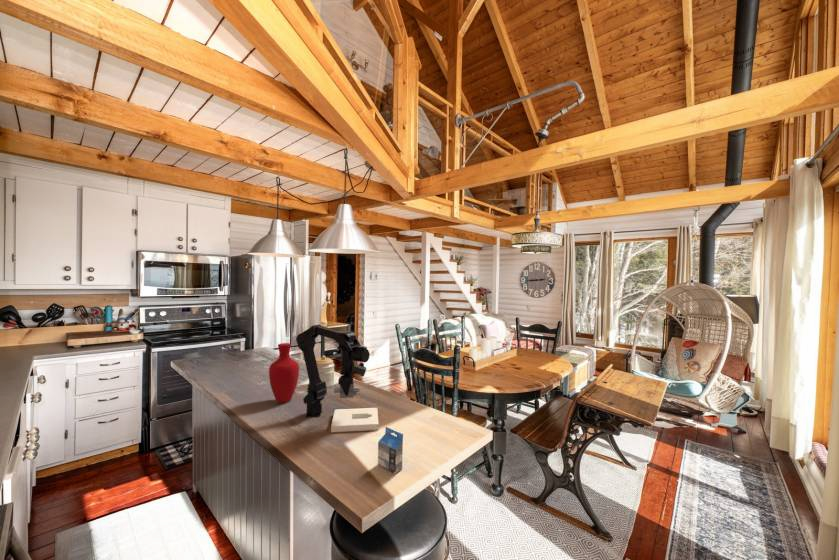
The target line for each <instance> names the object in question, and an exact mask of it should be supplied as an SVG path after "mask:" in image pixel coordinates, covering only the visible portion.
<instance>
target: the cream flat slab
mask: <svg viewBox="0 0 839 560" xmlns="http://www.w3.org/2000/svg"><path fill="white" fill-rule="evenodd" d="M378 413H379V412H378V407H367V408H365V407H364V408H362V407H361V408H340V409H338V408H337V409H334V413H333V417H332V421H331V425H330V426H331V427H330V433H342V432H346V433H347V432H360V431H363V432H364V431H379V414H378Z"/></svg>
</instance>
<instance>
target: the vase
mask: <svg viewBox="0 0 839 560" xmlns="http://www.w3.org/2000/svg"><path fill="white" fill-rule="evenodd" d="M291 346H292V343H289V342H284V343H283V342H281V343H278V344H277V347H278V354H279V356H278V358H277V359H276V360H275V361H273V362H272V363H271V364H270V366H269V370H268V377H269V383H270V388H271V392H272V393H273V396H274V399H275V400H276V402H277V403H279V404H286V403H289V402H290V401H291V400H292V399H293V397H294V394H295V392H296V388H297V385H298V381H299V376H300V365H299V363H298V362H297V361H296V360H294V359H293V358H291V356H290V355H291V354H290V353H291V352H290V351H291V348H292V347H291Z"/></svg>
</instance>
